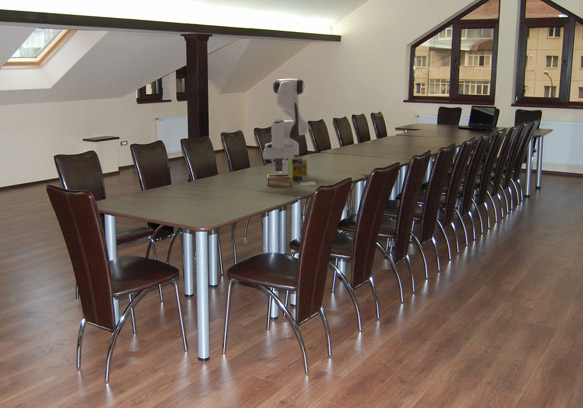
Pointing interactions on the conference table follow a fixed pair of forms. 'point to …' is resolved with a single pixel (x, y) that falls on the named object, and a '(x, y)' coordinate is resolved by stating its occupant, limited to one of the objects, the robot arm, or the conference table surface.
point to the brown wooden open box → (279, 180)
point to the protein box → (297, 168)
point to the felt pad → (308, 183)
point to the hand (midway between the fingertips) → (278, 165)
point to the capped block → (278, 165)
